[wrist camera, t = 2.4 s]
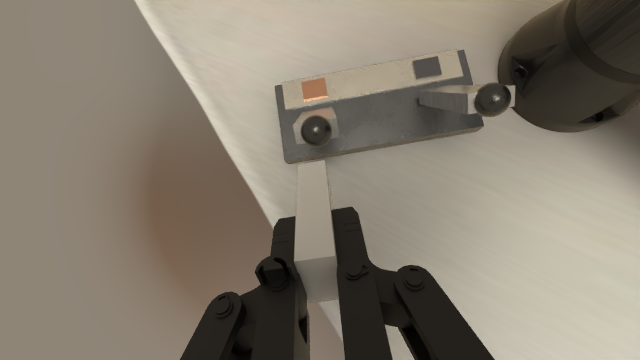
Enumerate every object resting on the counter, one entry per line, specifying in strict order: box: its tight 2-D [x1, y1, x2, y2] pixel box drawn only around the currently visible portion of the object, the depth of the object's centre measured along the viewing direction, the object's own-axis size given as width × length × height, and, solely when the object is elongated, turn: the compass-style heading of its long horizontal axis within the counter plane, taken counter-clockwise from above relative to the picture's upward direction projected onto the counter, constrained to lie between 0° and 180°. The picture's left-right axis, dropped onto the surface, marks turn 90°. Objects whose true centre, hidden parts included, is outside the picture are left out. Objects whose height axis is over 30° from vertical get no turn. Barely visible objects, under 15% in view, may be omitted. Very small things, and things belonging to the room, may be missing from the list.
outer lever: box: [293, 107, 339, 147], centre depth 28 cm, size 3×4×13 cm
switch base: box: [275, 49, 484, 164], centre depth 35 cm, size 10×24×3 cm, turn 99°
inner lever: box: [419, 83, 515, 117], centre depth 27 cm, size 3×4×13 cm
